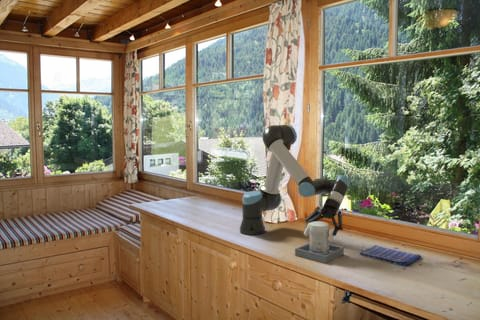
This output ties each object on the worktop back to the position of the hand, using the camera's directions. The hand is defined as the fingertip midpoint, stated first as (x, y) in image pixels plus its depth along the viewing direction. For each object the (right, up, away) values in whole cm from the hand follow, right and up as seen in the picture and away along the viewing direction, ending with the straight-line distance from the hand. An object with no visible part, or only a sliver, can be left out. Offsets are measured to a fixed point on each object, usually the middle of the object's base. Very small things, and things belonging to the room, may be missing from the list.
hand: (317, 237), depth 190 cm
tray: (+2, -9, +3) cm, 9 cm away
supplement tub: (+2, -8, +3) cm, 9 cm away
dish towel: (+35, -9, -1) cm, 36 cm away
